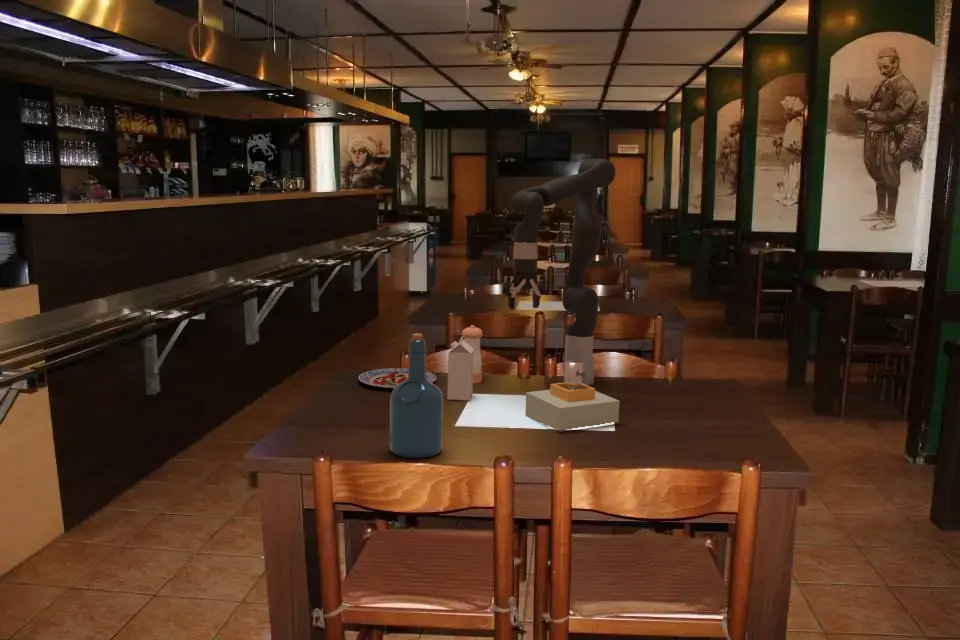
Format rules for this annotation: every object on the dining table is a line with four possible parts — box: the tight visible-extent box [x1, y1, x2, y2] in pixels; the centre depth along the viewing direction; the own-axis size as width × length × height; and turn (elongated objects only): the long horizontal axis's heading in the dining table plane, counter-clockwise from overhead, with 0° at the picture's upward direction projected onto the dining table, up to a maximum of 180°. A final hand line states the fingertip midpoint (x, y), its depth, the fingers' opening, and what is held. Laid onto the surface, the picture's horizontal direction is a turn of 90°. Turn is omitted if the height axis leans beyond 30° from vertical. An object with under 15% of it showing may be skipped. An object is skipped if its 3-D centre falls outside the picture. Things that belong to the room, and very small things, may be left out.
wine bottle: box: [389, 332, 444, 459], centre depth 206 cm, size 14×13×30 cm
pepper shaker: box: [461, 324, 484, 384], centre depth 281 cm, size 7×7×19 cm
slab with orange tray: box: [524, 382, 620, 430], centre depth 239 cm, size 20×19×10 cm
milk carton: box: [447, 335, 474, 401], centre depth 259 cm, size 7×7×19 cm
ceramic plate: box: [358, 367, 437, 390], centre depth 277 cm, size 26×26×3 cm
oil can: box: [563, 360, 585, 390], centre depth 237 cm, size 7×5×10 cm
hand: (523, 308), depth 260 cm, fingers open, 8 cm apart
